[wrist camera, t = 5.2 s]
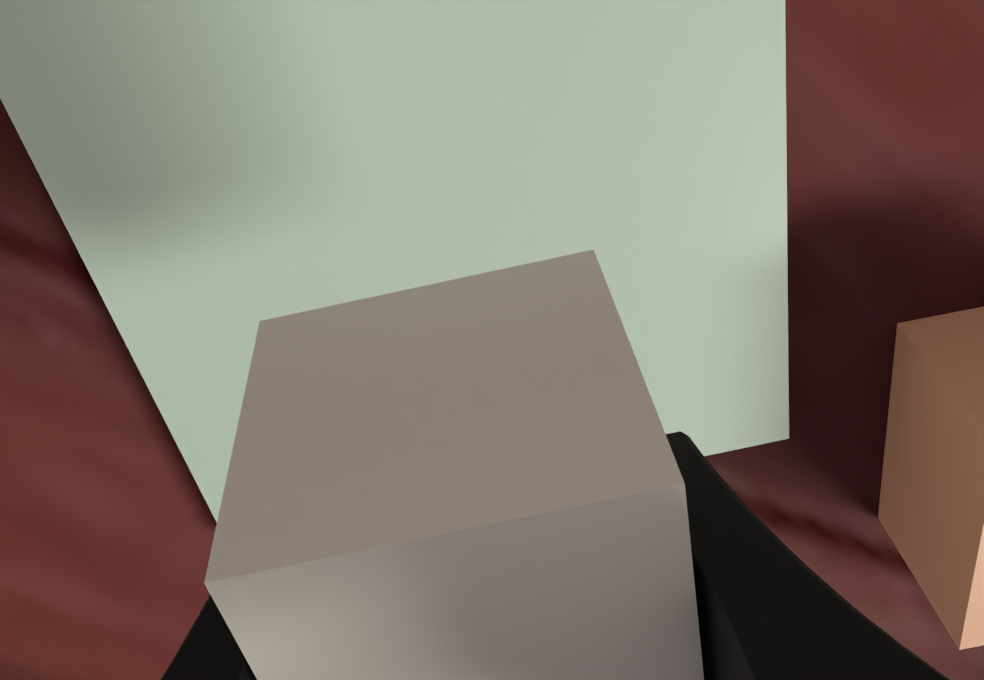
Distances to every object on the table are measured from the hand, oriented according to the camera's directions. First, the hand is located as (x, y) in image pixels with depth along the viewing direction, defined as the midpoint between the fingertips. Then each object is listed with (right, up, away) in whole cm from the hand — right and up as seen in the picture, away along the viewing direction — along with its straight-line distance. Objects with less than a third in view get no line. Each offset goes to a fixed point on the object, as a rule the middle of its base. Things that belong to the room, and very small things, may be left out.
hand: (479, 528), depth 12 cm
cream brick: (0, +1, +2) cm, 2 cm away
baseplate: (-1, +5, +7) cm, 8 cm away
